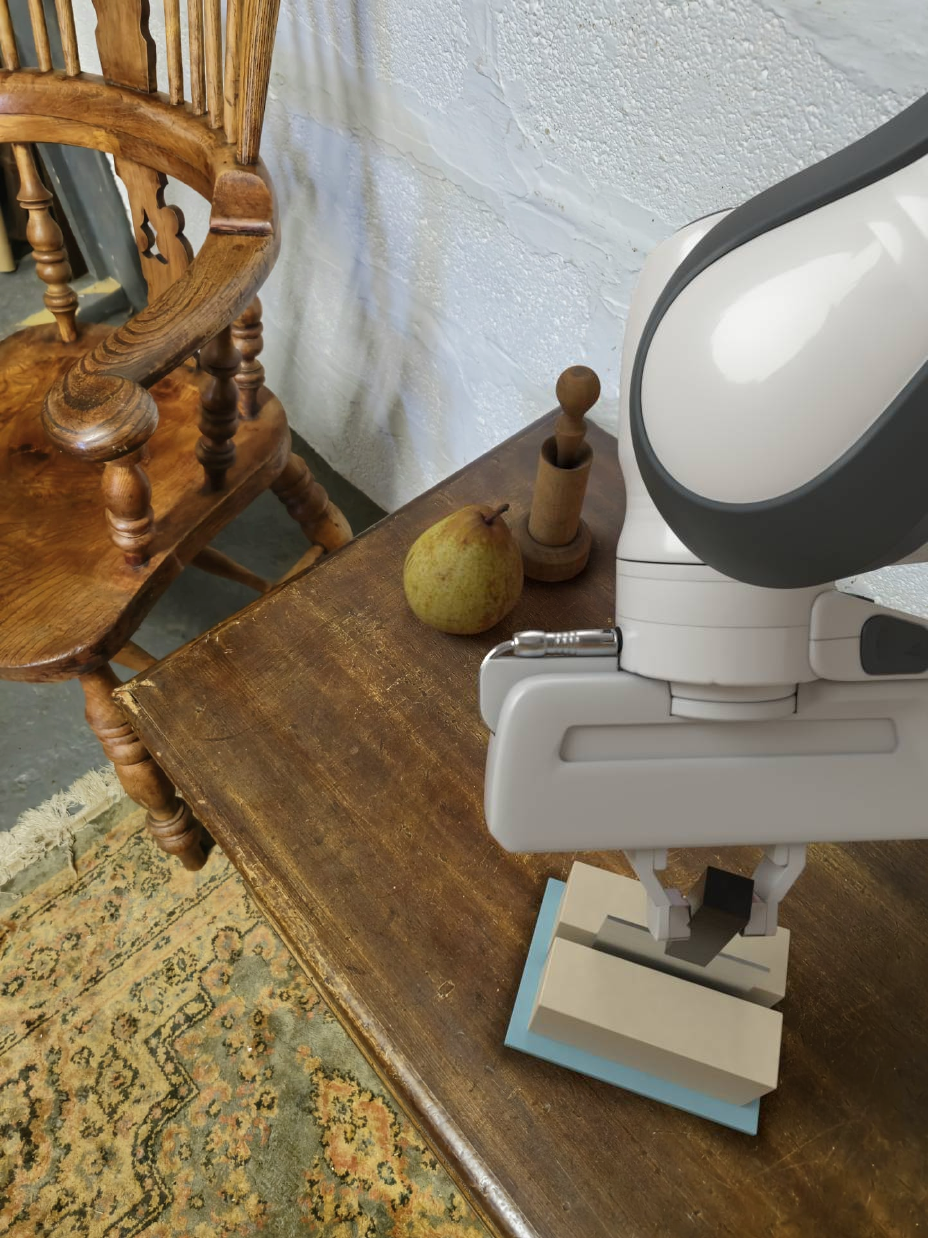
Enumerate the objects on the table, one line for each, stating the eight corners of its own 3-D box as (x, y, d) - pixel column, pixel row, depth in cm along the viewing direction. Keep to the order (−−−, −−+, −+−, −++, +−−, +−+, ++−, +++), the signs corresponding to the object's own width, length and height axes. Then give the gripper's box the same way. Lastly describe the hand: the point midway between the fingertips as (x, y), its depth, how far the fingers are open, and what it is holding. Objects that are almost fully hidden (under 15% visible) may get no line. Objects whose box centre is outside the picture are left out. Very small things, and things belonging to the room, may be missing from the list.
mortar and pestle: (539, 594, 68) (571, 414, 53) (493, 543, 71) (512, 361, 57) (603, 562, 70) (650, 381, 56) (556, 514, 73) (589, 331, 59)
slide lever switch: (771, 953, 51) (811, 918, 46) (753, 1136, 45) (796, 1119, 40) (548, 880, 53) (561, 838, 48) (503, 1045, 48) (513, 1017, 42)
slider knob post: (735, 984, 46) (827, 902, 35) (731, 1019, 45) (824, 944, 34) (591, 936, 47) (639, 843, 37) (584, 968, 46) (631, 881, 36)
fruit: (382, 602, 67) (375, 491, 57) (469, 549, 70) (477, 437, 61) (452, 673, 63) (457, 567, 53) (541, 613, 66) (560, 504, 57)
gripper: (483, 643, 32) (485, 982, 34) (997, 633, 33) (973, 960, 35) (471, 621, 38) (473, 908, 40) (905, 613, 40) (888, 892, 42)
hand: (710, 933), depth 38 cm, fingers closed on slider knob post, 2 cm apart
